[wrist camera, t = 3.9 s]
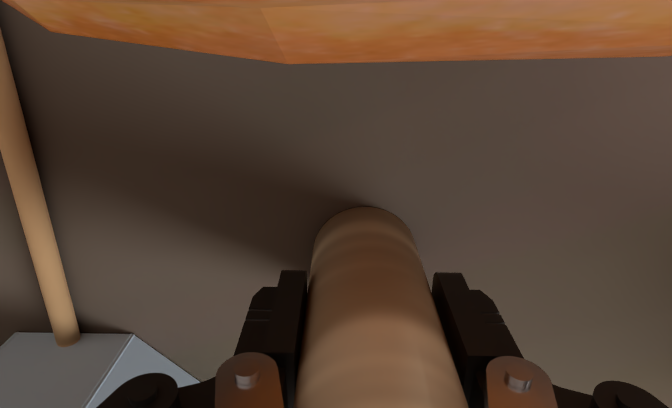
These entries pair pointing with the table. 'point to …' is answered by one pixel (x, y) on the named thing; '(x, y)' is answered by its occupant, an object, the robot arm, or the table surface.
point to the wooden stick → (33, 208)
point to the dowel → (372, 321)
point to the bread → (371, 27)
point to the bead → (75, 369)
